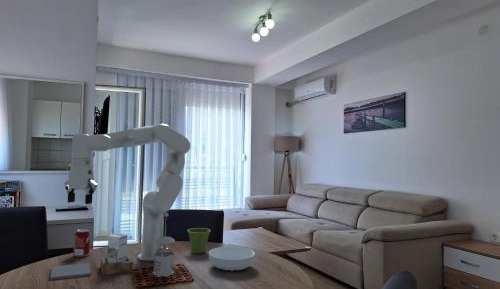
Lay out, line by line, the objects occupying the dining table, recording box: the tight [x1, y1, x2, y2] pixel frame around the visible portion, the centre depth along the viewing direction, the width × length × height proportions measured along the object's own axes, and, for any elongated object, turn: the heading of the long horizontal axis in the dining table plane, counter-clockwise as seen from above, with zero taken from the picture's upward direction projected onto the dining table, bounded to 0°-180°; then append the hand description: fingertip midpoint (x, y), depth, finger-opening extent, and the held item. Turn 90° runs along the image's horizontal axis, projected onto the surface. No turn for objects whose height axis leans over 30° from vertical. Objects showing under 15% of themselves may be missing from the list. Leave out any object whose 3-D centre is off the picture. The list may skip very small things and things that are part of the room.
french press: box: [152, 212, 176, 276], centre depth 140 cm, size 10×12×25 cm
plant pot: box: [187, 227, 211, 254], centre depth 173 cm, size 12×12×11 cm
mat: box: [49, 262, 92, 281], centre depth 136 cm, size 14×14×1 cm
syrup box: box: [106, 232, 128, 264], centre depth 142 cm, size 6×6×14 cm
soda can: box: [73, 228, 92, 258], centre depth 159 cm, size 7×7×12 cm
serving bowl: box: [208, 246, 256, 272], centre depth 150 cm, size 21×21×7 cm
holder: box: [100, 254, 134, 276], centre depth 142 cm, size 11×11×4 cm
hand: (79, 202), depth 142 cm, fingers open, 9 cm apart
